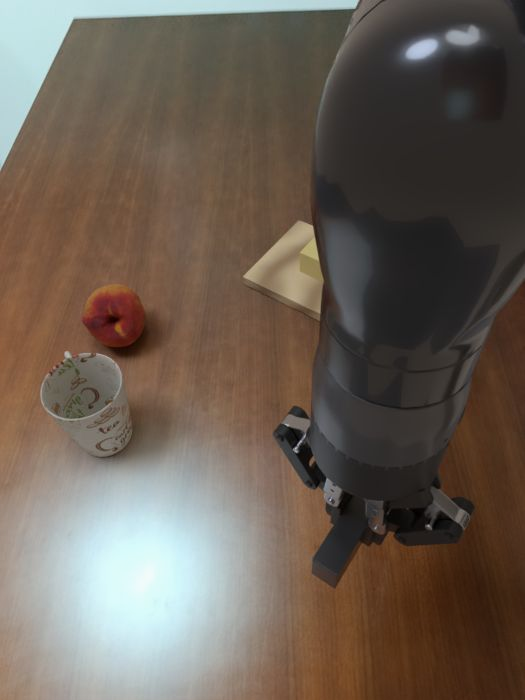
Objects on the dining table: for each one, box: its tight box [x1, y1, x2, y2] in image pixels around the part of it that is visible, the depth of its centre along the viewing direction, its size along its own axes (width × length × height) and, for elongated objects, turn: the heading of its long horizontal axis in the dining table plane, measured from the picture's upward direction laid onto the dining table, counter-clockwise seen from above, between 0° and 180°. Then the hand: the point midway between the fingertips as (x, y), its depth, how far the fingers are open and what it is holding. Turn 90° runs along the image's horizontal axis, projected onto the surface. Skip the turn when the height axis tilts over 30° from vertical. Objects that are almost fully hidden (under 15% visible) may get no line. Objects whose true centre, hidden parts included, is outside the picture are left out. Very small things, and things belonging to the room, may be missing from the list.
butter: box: [300, 237, 323, 282], centre depth 78 cm, size 6×4×4 cm, turn 55°
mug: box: [39, 350, 134, 458], centre depth 64 cm, size 8×13×10 cm, turn 33°
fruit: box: [81, 283, 146, 348], centre depth 73 cm, size 8×8×8 cm
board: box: [242, 219, 323, 322], centre depth 79 cm, size 22×14×2 cm, turn 55°
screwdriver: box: [310, 495, 369, 589], centre depth 45 cm, size 20×2×3 cm, turn 145°
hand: (356, 524), depth 44 cm, fingers closed on screwdriver, 2 cm apart
